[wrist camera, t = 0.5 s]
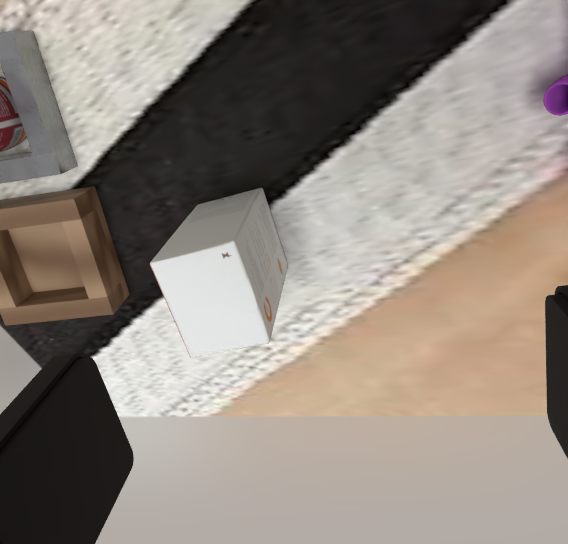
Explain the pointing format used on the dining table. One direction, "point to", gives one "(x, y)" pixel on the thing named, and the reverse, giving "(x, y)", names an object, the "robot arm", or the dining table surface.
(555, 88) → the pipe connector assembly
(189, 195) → the dining table surface
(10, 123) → the pill bottle
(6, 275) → the tray
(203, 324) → the small box
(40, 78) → the socket block
